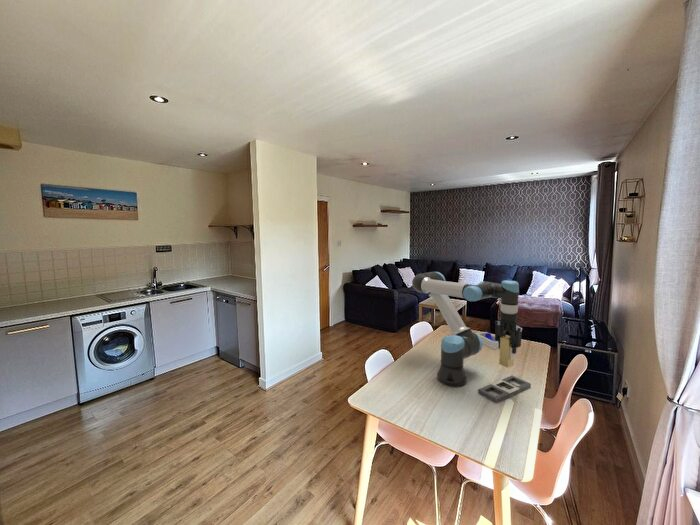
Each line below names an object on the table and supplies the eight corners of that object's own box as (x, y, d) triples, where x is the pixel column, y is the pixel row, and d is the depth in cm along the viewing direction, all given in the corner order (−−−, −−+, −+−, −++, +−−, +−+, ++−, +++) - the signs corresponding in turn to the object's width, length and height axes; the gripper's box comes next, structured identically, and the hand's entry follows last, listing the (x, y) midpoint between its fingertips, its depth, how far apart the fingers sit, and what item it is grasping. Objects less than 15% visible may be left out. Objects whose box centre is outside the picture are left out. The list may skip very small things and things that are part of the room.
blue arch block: (483, 341, 213) (483, 333, 212) (488, 340, 214) (489, 332, 213) (495, 347, 201) (495, 339, 201) (500, 347, 202) (501, 338, 202)
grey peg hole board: (496, 403, 137) (496, 399, 137) (478, 393, 146) (478, 389, 146) (530, 387, 151) (530, 383, 151) (511, 378, 160) (512, 374, 159)
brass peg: (507, 367, 144) (509, 338, 142) (499, 364, 148) (500, 335, 146) (513, 365, 146) (515, 337, 144) (504, 361, 150) (506, 334, 148)
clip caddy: (494, 349, 198) (494, 342, 198) (474, 340, 215) (475, 333, 215) (505, 347, 201) (505, 340, 201) (485, 338, 218) (485, 331, 218)
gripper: (531, 315, 138) (529, 362, 140) (497, 307, 153) (495, 349, 156) (522, 317, 134) (519, 366, 137) (488, 309, 150) (486, 352, 152)
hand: (506, 357), depth 146 cm, fingers closed on brass peg, 5 cm apart
